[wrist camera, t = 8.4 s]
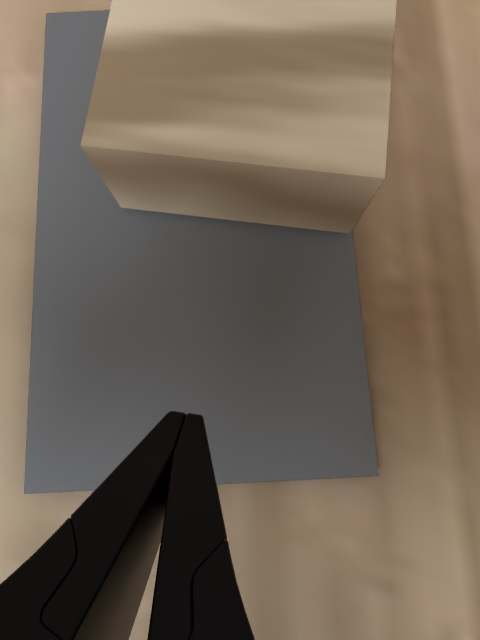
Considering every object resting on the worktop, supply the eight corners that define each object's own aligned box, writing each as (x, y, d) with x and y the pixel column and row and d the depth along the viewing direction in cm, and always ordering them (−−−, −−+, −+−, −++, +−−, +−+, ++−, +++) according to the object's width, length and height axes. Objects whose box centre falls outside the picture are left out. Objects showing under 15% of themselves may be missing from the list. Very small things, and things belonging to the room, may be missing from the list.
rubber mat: (374, 473, 17) (378, 475, 16) (30, 491, 17) (24, 493, 16) (325, 8, 21) (327, -1, 20) (51, 22, 21) (46, 13, 20)
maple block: (384, 178, 13) (401, -82, 15) (80, 145, 13) (135, -105, 15) (347, 237, 18) (363, 34, 20) (123, 211, 18) (161, 14, 20)
